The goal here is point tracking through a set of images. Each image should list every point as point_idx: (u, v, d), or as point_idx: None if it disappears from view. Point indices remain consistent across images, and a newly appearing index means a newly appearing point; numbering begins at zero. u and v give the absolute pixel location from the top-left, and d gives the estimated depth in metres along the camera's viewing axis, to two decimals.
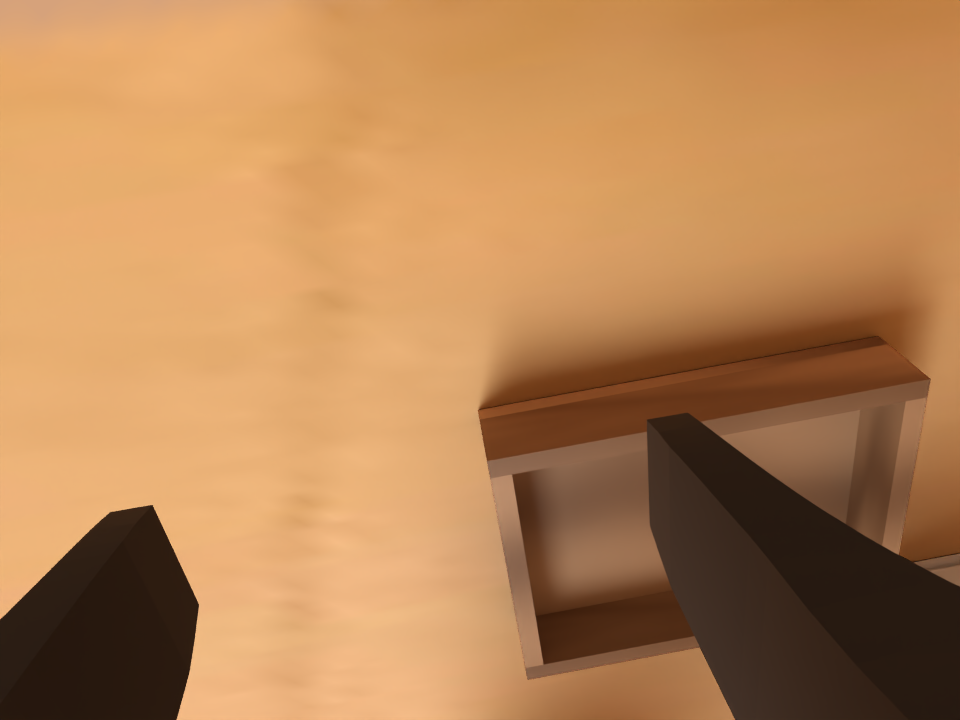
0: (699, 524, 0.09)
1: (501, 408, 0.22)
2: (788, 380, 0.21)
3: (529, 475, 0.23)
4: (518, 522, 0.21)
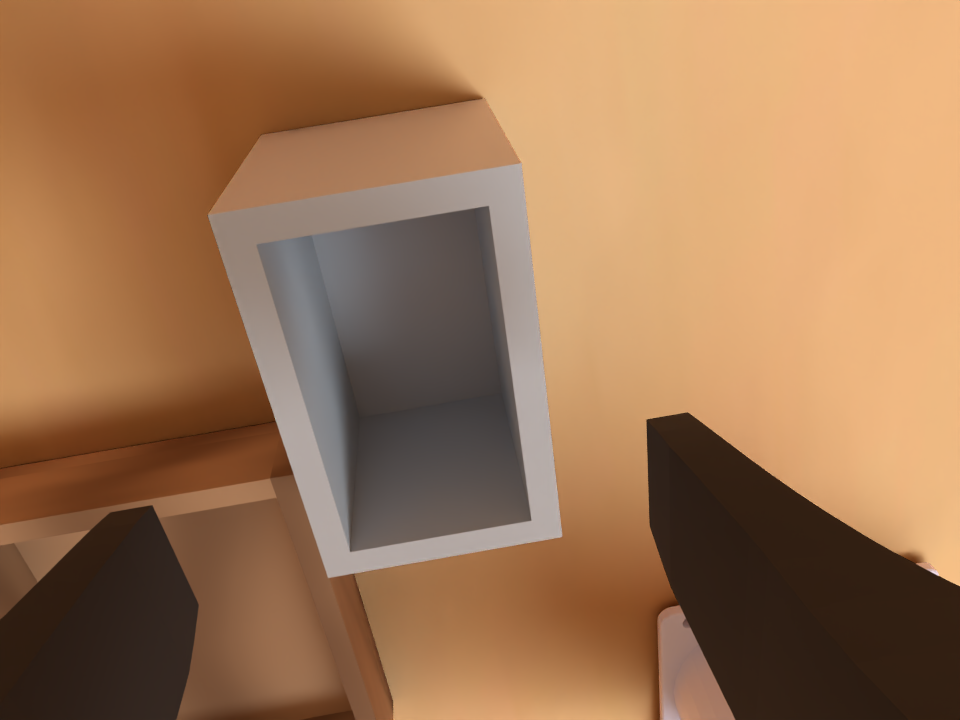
0: (699, 523, 0.09)
1: None
2: None
3: None
4: None
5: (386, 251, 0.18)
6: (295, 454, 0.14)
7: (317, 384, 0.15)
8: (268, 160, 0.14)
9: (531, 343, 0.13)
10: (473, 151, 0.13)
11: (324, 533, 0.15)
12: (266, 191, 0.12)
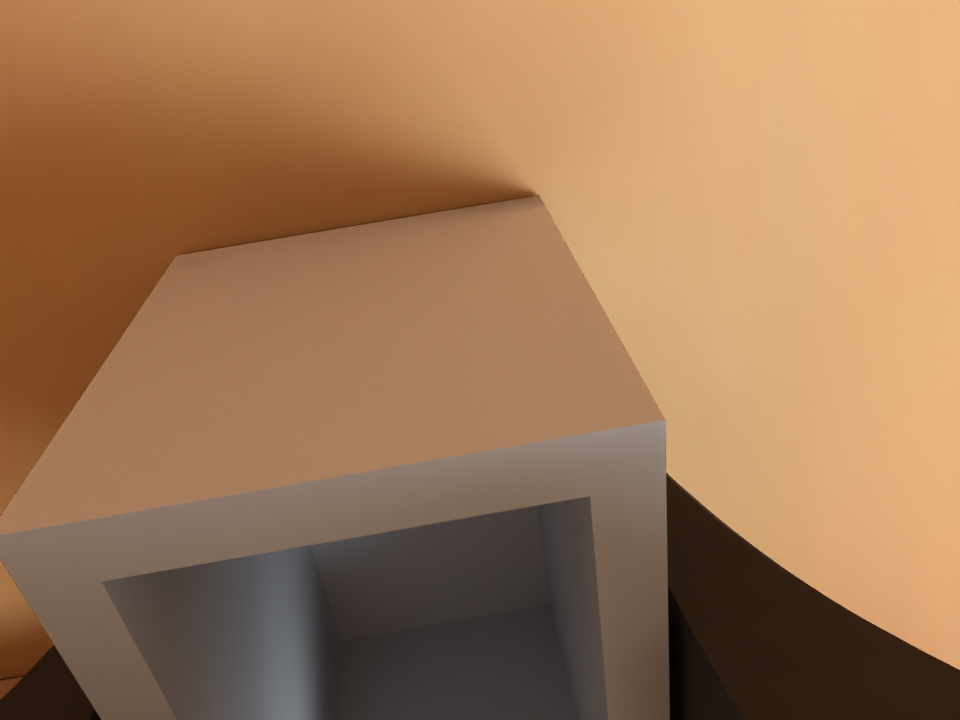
0: None
1: None
2: None
3: None
4: None
5: None
6: None
7: (260, 708, 0.09)
8: (167, 334, 0.08)
9: (651, 701, 0.07)
10: (548, 356, 0.07)
11: None
12: (132, 451, 0.06)
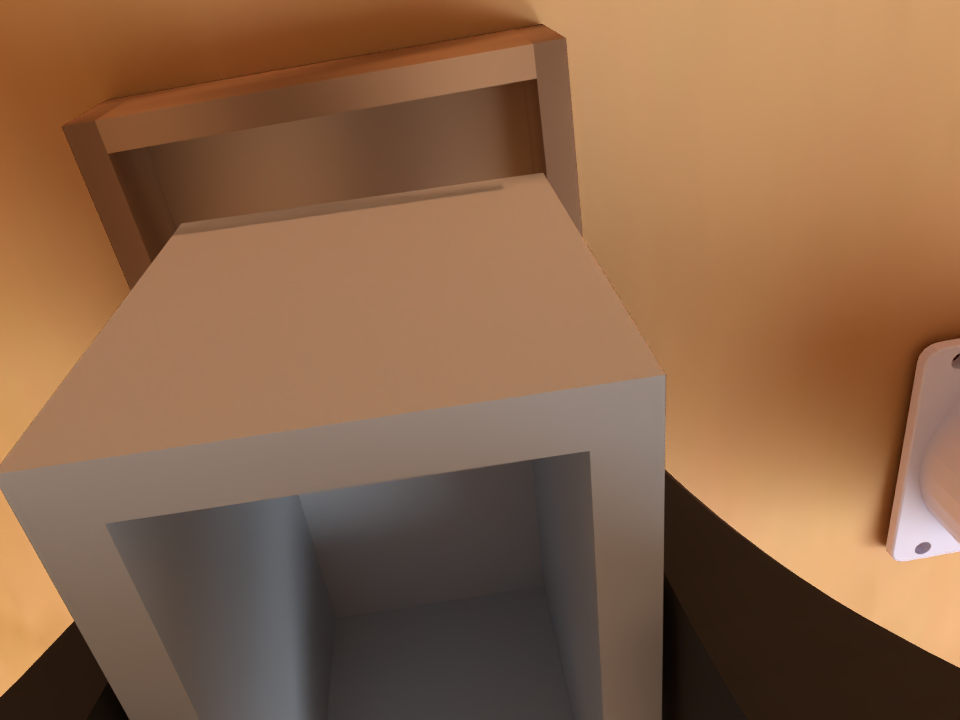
0: None
1: None
2: None
3: None
4: None
5: None
6: None
7: (255, 671, 0.09)
8: (172, 294, 0.08)
9: (644, 664, 0.07)
10: (551, 317, 0.07)
11: None
12: (137, 399, 0.06)
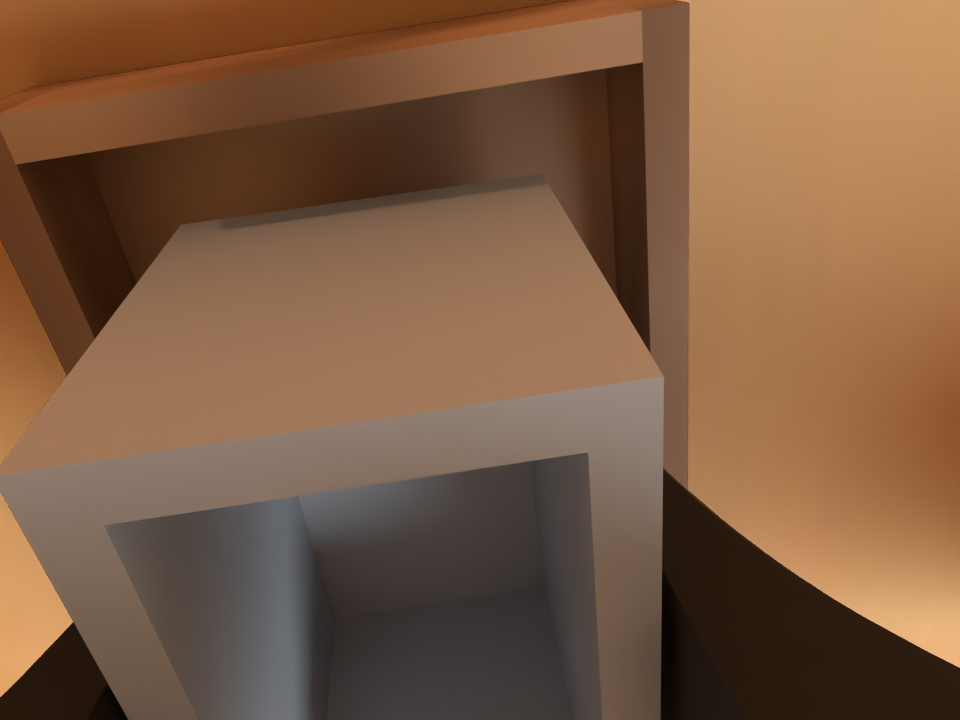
0: None
1: None
2: None
3: None
4: None
5: None
6: None
7: (254, 671, 0.09)
8: (171, 296, 0.08)
9: (643, 665, 0.07)
10: (549, 319, 0.07)
11: None
12: (136, 400, 0.06)
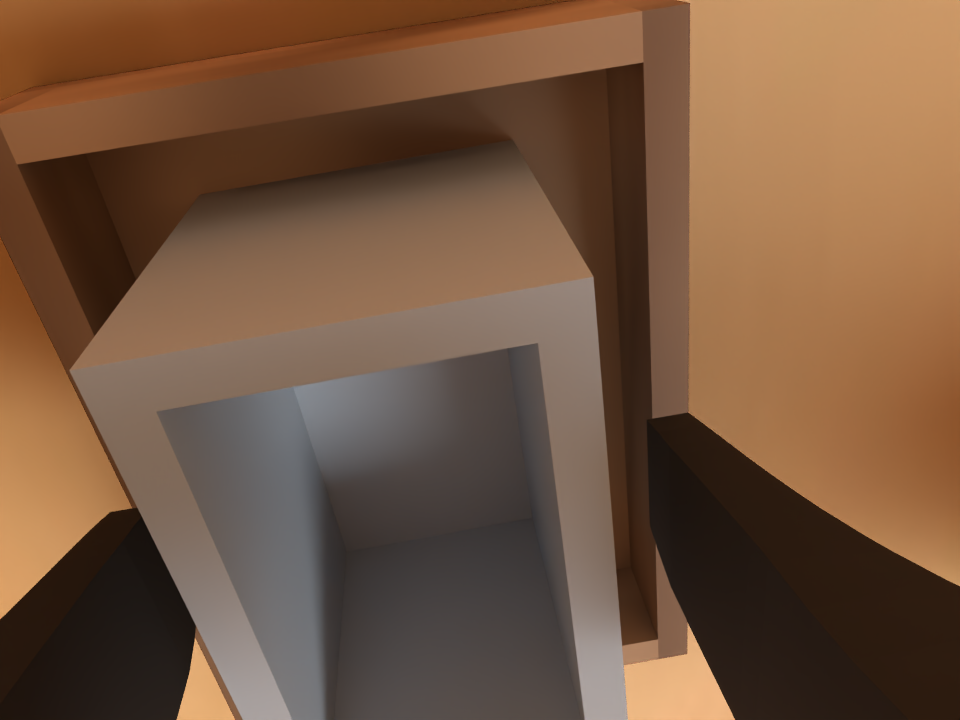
0: (699, 523, 0.09)
1: None
2: None
3: None
4: None
5: None
6: (240, 689, 0.09)
7: (276, 567, 0.10)
8: (197, 246, 0.10)
9: (598, 533, 0.09)
10: (508, 244, 0.08)
11: None
12: (177, 316, 0.08)
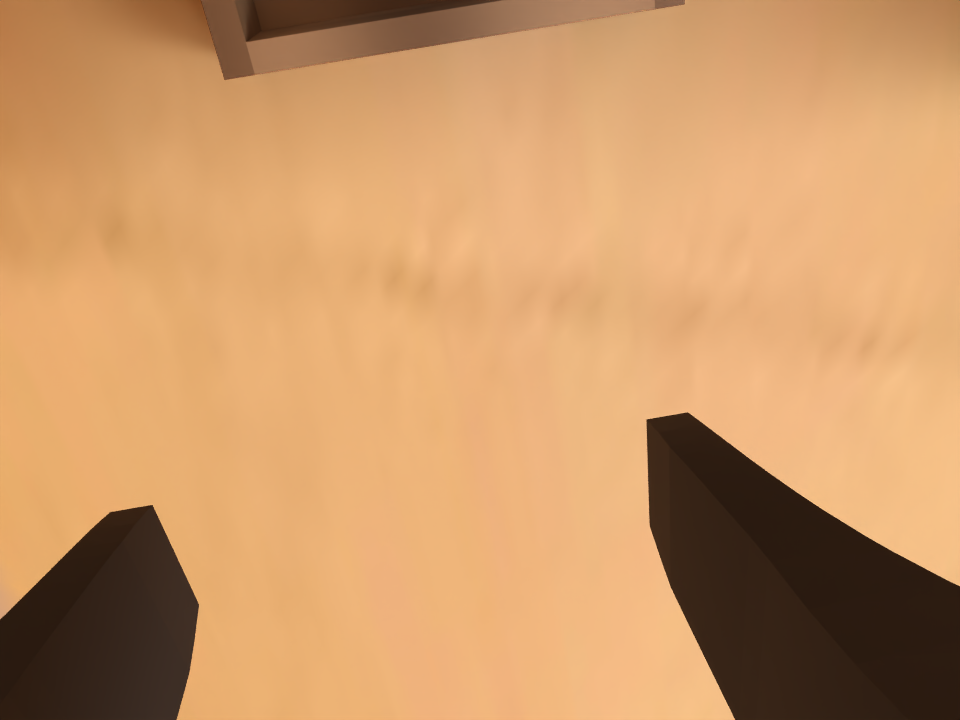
0: (699, 524, 0.09)
1: None
2: None
3: None
4: (335, 30, 0.14)
5: None
6: None
7: None
8: None
9: None
10: None
11: None
12: None
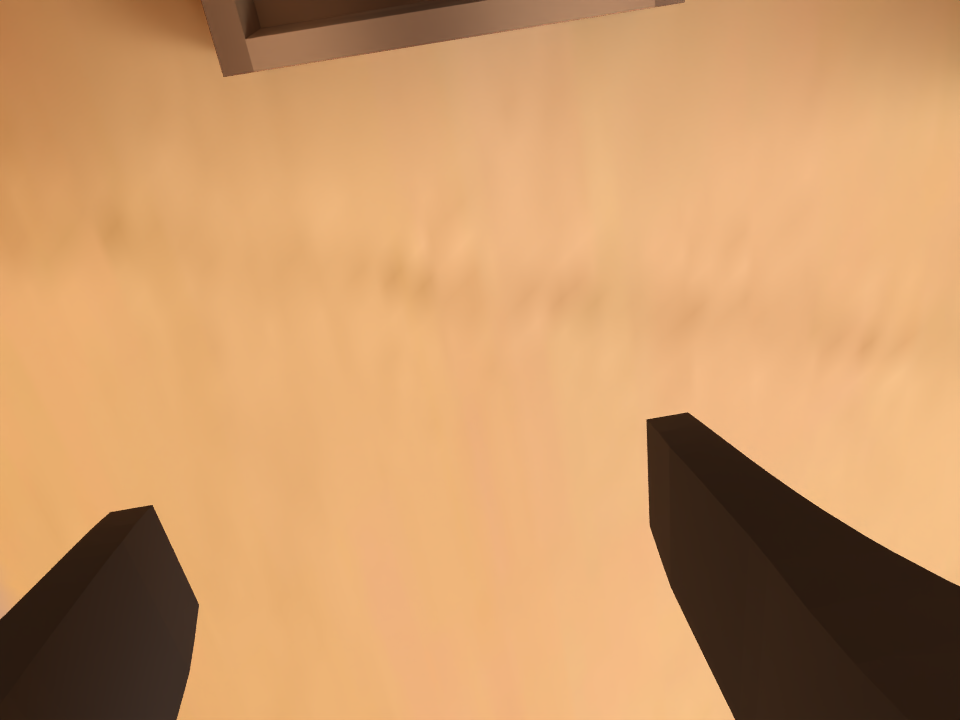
0: (699, 524, 0.09)
1: None
2: None
3: None
4: (335, 27, 0.14)
5: None
6: None
7: None
8: None
9: None
10: None
11: None
12: None
